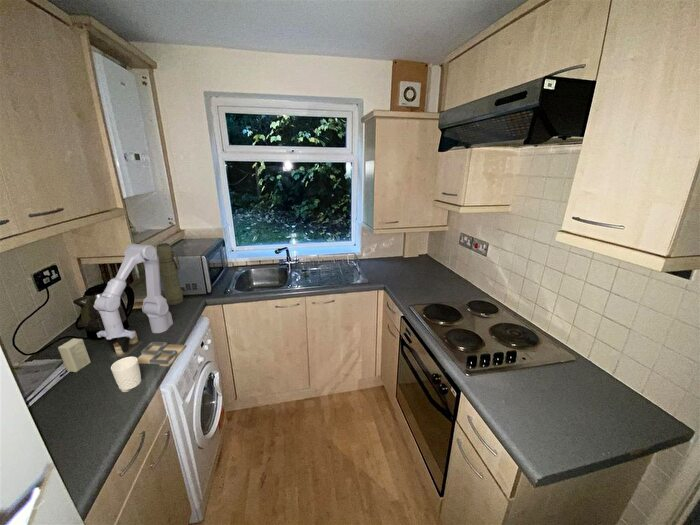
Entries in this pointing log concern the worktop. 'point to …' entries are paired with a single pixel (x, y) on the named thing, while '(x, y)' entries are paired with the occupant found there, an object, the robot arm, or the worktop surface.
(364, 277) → the worktop surface
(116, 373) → the white cup
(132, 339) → the sleeve band down
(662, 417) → the worktop surface
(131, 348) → the pad
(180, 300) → the thermos
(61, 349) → the skincare box
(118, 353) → the sleeve band up
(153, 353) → the socket board
